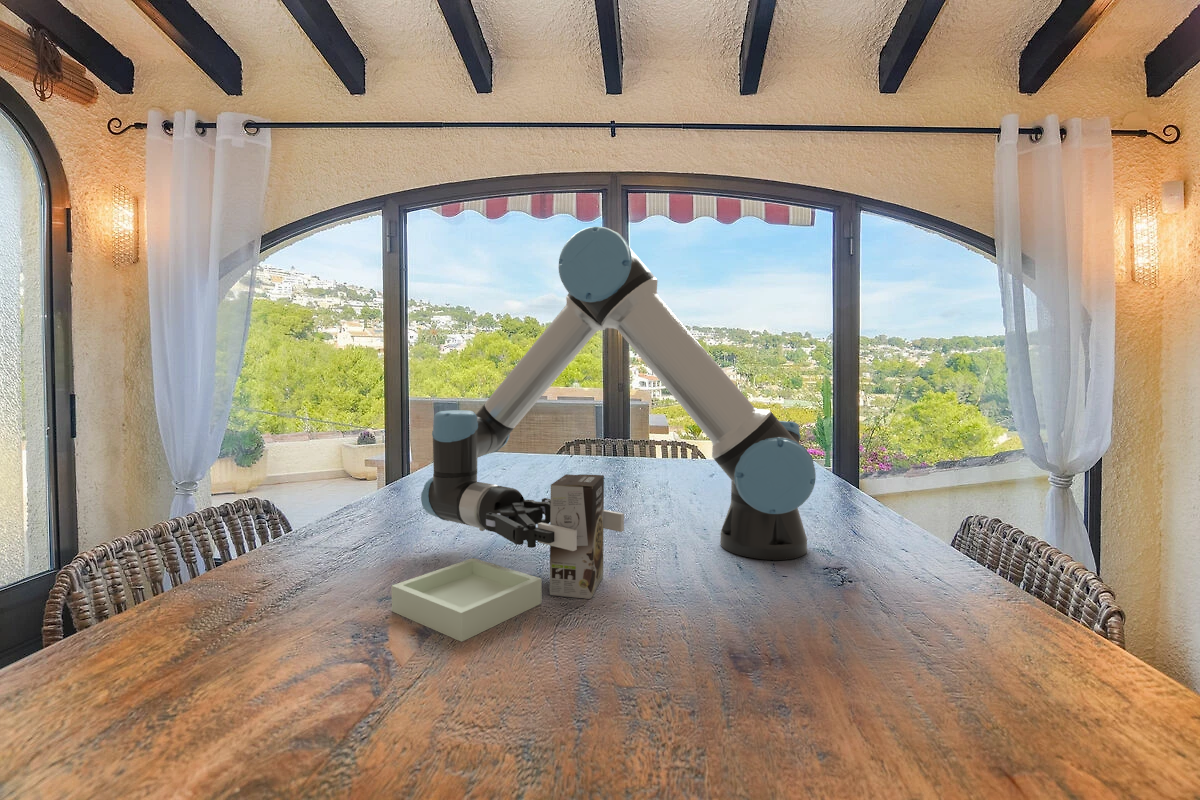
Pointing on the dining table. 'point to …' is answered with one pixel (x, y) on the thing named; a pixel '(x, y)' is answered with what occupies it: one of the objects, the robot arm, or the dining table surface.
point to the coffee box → (578, 535)
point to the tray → (466, 597)
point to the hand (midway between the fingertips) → (600, 531)
